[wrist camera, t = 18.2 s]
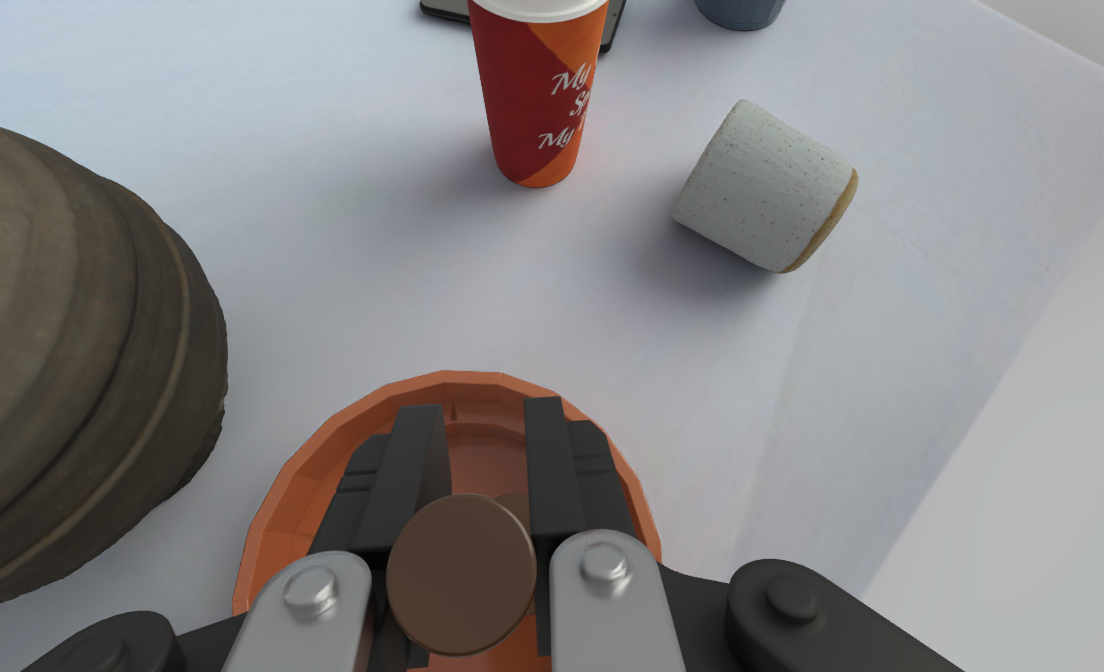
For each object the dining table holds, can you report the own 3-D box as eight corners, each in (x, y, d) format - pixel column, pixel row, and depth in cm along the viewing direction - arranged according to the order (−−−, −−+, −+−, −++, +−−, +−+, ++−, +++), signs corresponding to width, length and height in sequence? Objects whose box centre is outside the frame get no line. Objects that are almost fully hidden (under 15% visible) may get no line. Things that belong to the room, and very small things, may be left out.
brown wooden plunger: (482, 486, 25) (338, 316, 7) (579, 513, 25) (717, 413, 6) (449, 594, 23) (127, 778, 5) (554, 624, 23) (640, 945, 4)
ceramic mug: (773, 302, 32) (844, 231, 25) (656, 239, 34) (692, 155, 27) (832, 186, 36) (908, 96, 29) (725, 134, 37) (772, 35, 30)
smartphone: (447, -52, 42) (629, -14, 41) (449, -40, 43) (627, -2, 42) (416, 4, 40) (609, 47, 38) (418, 16, 40) (608, 58, 39)
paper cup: (581, 211, 34) (612, 7, 21) (466, 189, 35) (428, -25, 22) (600, 120, 37) (637, -108, 24) (494, 101, 37) (475, -135, 24)
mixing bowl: (577, 375, 30) (589, 332, 24) (680, 695, 24) (729, 743, 18) (287, 452, 28) (220, 426, 22) (326, 824, 22) (250, 928, 16)
